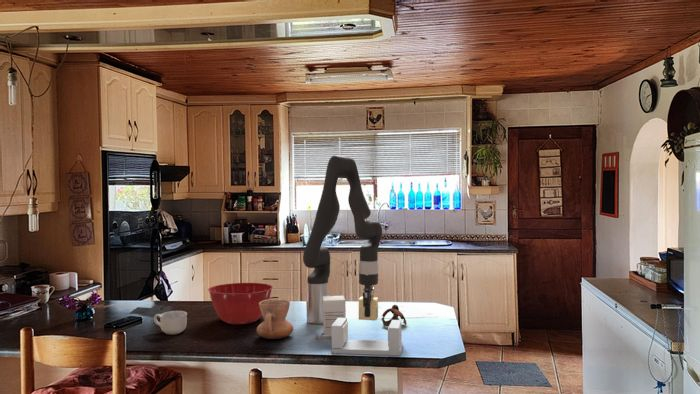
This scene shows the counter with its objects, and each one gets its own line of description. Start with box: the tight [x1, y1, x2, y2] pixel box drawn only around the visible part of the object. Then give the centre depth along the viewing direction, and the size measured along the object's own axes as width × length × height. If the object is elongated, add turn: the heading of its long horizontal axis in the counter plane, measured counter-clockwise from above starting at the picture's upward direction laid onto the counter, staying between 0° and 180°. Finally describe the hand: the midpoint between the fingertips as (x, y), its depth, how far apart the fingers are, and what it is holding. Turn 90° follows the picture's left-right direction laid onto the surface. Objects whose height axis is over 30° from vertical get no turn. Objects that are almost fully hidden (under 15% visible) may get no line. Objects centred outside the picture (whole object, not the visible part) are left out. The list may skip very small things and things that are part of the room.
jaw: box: [315, 317, 349, 349], centre depth 197 cm, size 10×12×8 cm
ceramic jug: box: [256, 298, 294, 340], centre depth 213 cm, size 18×14×14 cm
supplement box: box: [322, 295, 347, 336], centre depth 216 cm, size 9×9×15 cm
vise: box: [331, 319, 404, 356], centre depth 195 cm, size 24×12×10 cm, turn 80°
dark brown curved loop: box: [381, 304, 407, 327], centre depth 229 cm, size 12×9×8 cm
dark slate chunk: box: [128, 304, 176, 318], centre depth 255 cm, size 15×22×5 cm
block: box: [358, 296, 379, 321], centre depth 210 cm, size 4×7×8 cm, turn 80°
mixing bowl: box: [207, 282, 273, 325], centre depth 240 cm, size 28×28×16 cm
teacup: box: [153, 310, 188, 335], centre depth 223 cm, size 14×11×8 cm
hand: (368, 314), depth 210 cm, fingers closed on block, 4 cm apart
